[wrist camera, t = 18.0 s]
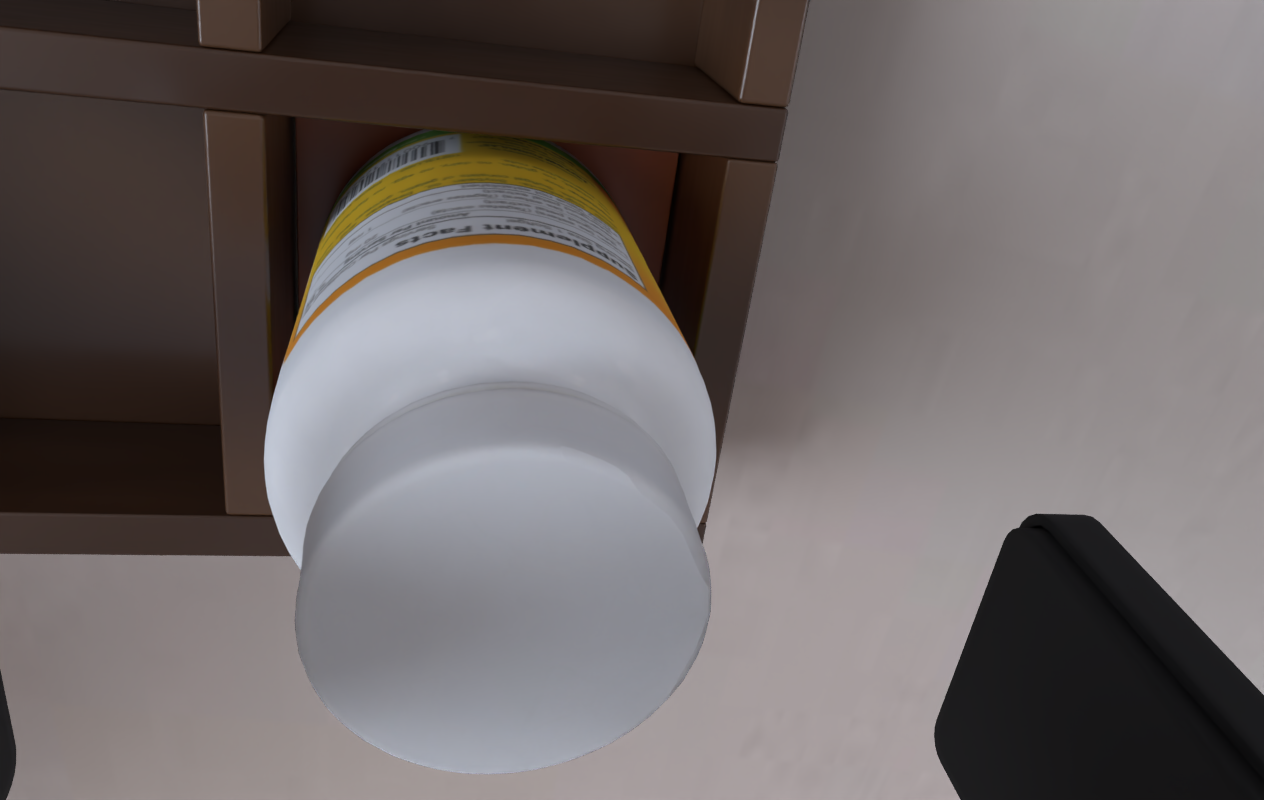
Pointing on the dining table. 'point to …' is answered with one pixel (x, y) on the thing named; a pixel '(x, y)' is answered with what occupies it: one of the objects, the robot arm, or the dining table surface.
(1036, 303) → the dining table surface
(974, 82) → the dining table surface
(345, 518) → the supplement bottle
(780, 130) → the wooden compartment tray
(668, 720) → the dining table surface
